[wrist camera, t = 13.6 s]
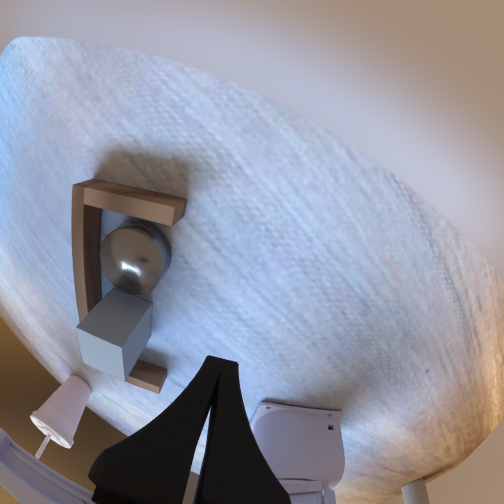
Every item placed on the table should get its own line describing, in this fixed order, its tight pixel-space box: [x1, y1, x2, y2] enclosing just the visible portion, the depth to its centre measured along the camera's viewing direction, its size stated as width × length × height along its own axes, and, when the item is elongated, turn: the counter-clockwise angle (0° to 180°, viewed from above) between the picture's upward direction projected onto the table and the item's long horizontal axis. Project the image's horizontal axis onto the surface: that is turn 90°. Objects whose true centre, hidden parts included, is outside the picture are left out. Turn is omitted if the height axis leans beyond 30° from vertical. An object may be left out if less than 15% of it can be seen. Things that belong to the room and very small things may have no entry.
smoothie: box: [30, 375, 91, 459], centre depth 22 cm, size 6×6×14 cm
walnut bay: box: [72, 179, 187, 394], centre depth 20 cm, size 8×18×2 cm, turn 166°
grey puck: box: [100, 220, 172, 295], centre depth 19 cm, size 5×5×2 cm
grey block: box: [76, 288, 153, 382], centre depth 20 cm, size 4×4×6 cm
